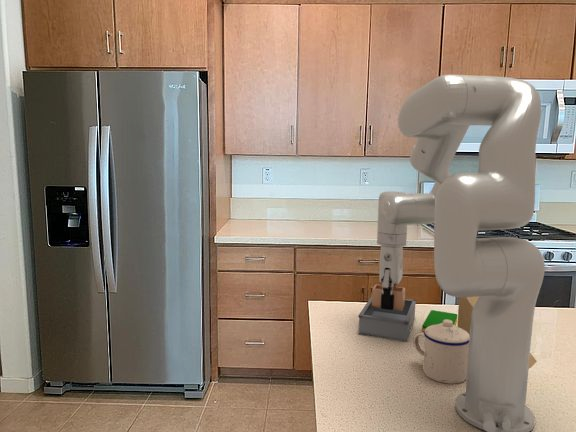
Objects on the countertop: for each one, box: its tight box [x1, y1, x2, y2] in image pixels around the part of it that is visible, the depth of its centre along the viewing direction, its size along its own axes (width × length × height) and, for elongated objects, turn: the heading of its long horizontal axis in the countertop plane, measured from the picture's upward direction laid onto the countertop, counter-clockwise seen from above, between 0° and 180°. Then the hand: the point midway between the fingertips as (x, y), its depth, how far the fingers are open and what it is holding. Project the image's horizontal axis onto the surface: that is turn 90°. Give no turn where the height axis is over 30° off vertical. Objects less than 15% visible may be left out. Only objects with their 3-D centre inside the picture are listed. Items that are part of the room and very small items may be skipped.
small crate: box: [371, 283, 406, 311], centre depth 118 cm, size 4×8×5 cm, turn 68°
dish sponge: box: [421, 309, 458, 333], centre depth 119 cm, size 7×14×2 cm, turn 153°
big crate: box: [357, 295, 417, 343], centre depth 119 cm, size 18×12×5 cm
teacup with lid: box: [413, 319, 470, 385], centre depth 93 cm, size 12×9×12 cm
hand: (388, 305), depth 119 cm, fingers closed on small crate, 4 cm apart
